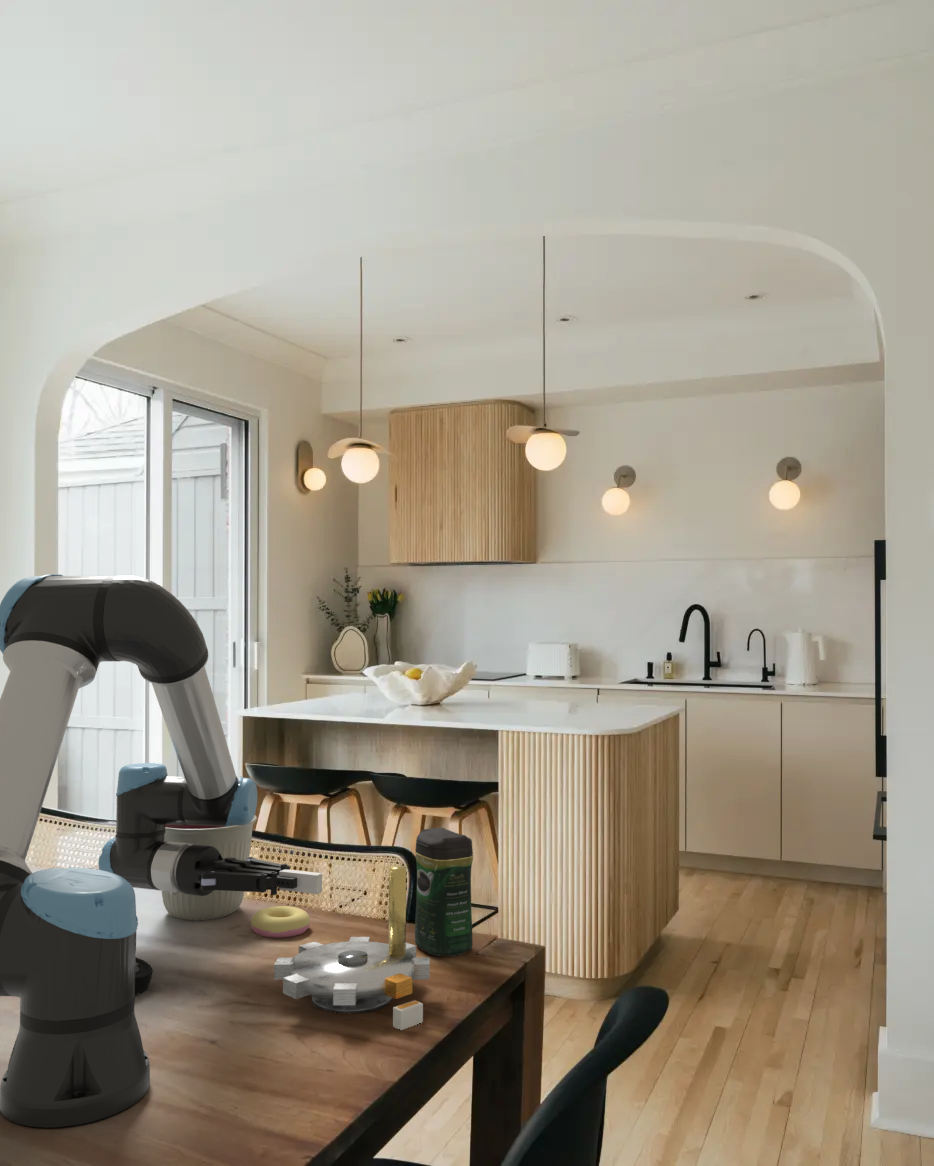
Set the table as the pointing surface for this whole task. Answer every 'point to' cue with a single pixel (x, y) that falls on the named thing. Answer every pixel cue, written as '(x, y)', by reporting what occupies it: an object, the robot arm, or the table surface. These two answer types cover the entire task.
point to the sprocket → (358, 961)
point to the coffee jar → (443, 892)
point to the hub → (360, 1007)
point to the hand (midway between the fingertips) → (319, 883)
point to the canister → (228, 844)
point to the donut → (280, 922)
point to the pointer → (407, 1015)
